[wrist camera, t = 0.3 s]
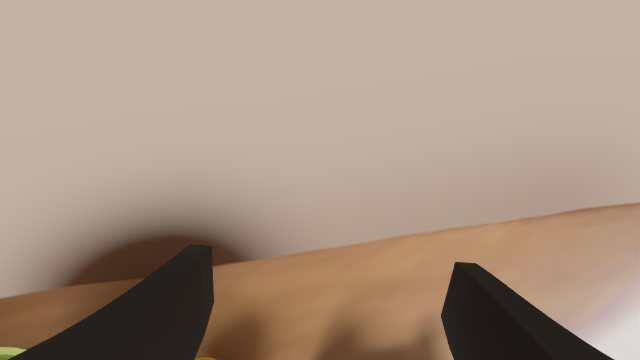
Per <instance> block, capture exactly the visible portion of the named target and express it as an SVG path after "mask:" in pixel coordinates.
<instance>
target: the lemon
mask: <svg viewBox="0 0 640 360" xmlns="http://www.w3.org/2000/svg"><path fill="white" fill-rule="evenodd" d="M194 360H216V359H214V358H209V357H201V358H196V359H194Z"/></svg>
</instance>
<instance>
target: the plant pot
mask: <svg viewBox="0 0 640 360" xmlns="http://www.w3.org/2000/svg"><path fill="white" fill-rule="evenodd" d="M24 351H26V349H23V348H18V347H0V360H8V359H10V358H12V357H14V356H16V355H18V354H20V353H22V352H24Z"/></svg>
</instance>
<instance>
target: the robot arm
mask: <svg viewBox="0 0 640 360" xmlns="http://www.w3.org/2000/svg"><path fill="white" fill-rule="evenodd" d="M213 303H214V293H213V269H212V247H211V246H204V245H189V246H188V247H186V248H185V249H184V250H182V251H181V252H180V253H178V254H177V255H176V256H175V257H173V258H172V259H171V260H169V261H168V262H167V263H166V264H164V265H163V266H162V267H160V268H159V269H158V270H157V271H155V272H154V273H152V274H151V275H150V276H148V277H147V278H145V279H144V280H143V281H141V282H140V283H139V284H137V285H136V286H134V287H133V288H131V289H130V290H128V291H127V292H125V293H124V294H122V295H121V296H120V297H118V298H117V299H115V300H114V301H112V302H111V303H109V304H108V305H106V306H105V307H103V308H102V309H100V310H98V311H97V312H95V313H94V314H92V315H90V316H89V317H87V318H85V319H84V320H82V321H80V322H78V323H77V324H75V325H73V326H71V327H70V328H68V329H66V330H64V331H63V332H61V333H59V334H57V335H55V336H53V337H52V338H50V339H48V340H46V341H44V342H42V343H40V344H38V345H36V346H34V347H32V348H30V349H28V350H26V351H24V352H22V353H20V354H18V355H16V356H14V357H12V358H10V359H8V360H194V359H195V356H196V354H197V352H198V349H199V347H200V344H201V342H202V340H203V337H204V335H205V331H206V328H207V325H208V321H209V318H210V314H211V311H212V307H213ZM441 318H442V322H443V326H444V330H445V333H446V337H447V340H448V344H449V347H450V350H451V353H452V355H453V358H454V360H614V359H612V358H610V357H609V356H607V355H605V354H604V353H602V352H600V351H599V350H597V349H596V348H594V347H592V346H591V345H589V344H588V343H586V342H585V341H583V340H582V339H580V338H579V337H577V336H576V335H574V334H573V333H571V332H570V331H568V330H567V329H565V328H564V327H562V326H561V325H560V324H558V323H557V322H555V321H554V320H552V319H551V318H550V317H548V316H547V315H545V314H544V313H543V312H541V311H540V310H539V309H537V308H536V307H534V306H533V305H532V304H530V303H529V302H528V301H526V300H525V299H524V298H522V297H521V296H520V295H518V294H517V293H516V292H514V291H513V290H512V289H510V288H509V287H508V286H507V285H505V284H504V283H503V282H501V281H500V280H499V279H497V278H496V277H495V276H493V275H492V274H491V273H489V272H488V271H486V270H485V269H483V268H482V267H481V266H479V265H477V264H476V263H463V262H455V265H454V269H453V273H452V276H451V280H450V284H449V288H448V291H447V295H446V299H445V302H444V306H443V310H442V314H441Z"/></svg>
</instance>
